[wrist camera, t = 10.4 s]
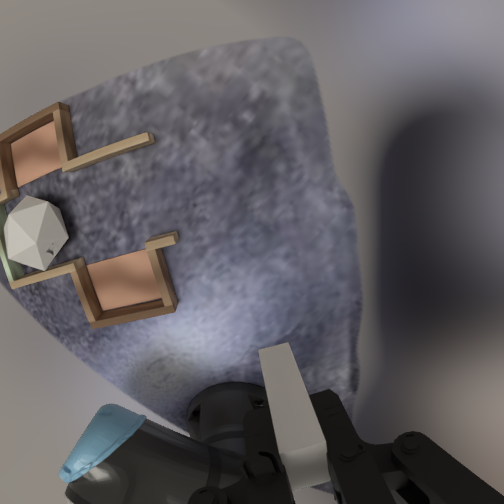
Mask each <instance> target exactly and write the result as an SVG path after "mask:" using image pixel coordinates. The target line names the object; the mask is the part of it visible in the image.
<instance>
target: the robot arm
mask: <svg viewBox="0 0 504 504" xmlns="http://www.w3.org/2000/svg"><path fill="white" fill-rule="evenodd" d="M258 352H259V357H260V362H261V367H262V372H263V377H264V382H265V387H266V389H264V388H262V387H259V386H256V385H253V384H248V383H239V382H232V383H223V384H218V385H215V386H212V387H209V388H207V389H205V390H203V391H202V392H200V393H199V394H198V395H197V396H196V397H195V398H194V399H193V400H192V401H191V403H190V405H189V408H188V413H187V428H188V432H189V434H190V437H191V438H190V437H187V436H185V435H182V434H180V433H178V432H175V431H173V430H171V429H168V428H166V427H164V426H161V425H159V424H157V423H155V422H153V421H151V420H149V419H146V416H145V415H139V414H136V413H134V412H132V411H130V410H128V409H125V408H123V407H121V406H119V405H116V404H107V405H104V406H102V407H101V408H100V409H99V410H98V412H97V413H96V414H95V416H94V418H93V419H92V420H91V422H90V424H89V425H88V427H87V428H86V430H85V431H84V433H83V434H82V436H81V437H80V439H79V441H78V442H77V444H76V445H75V447H74V448H73V450H72V451H71V453H70V455H69V456H68V458H67V460H66V461H65V463H64V464H63V466H62V467H61V469H60V471H59V473H58V474H59V477H60V478H62V480H63V481H64V482H66V483H69V484H68V486H67V489H66V492H65V494H64V497H65V499H66V501H67V503H68V504H295V501H294V498H293V493H292V491H295V490H299V489H303V488H307V487H311V486H314V485H318V484H322V483H325V482H328V481H332V484H333V489H334V498H335V500H337V503H338V504H396V502H395V500H394V498H393V496H392V494H393V495H394V496H395V497H396V498H397V499H398V501H399V502H400V503H401V504H504V496H503V495H502V494H500V493H499V492H498V491H496V490H495V489H494V488H492V487H491V486H489V485H488V484H487V483H486V482H484V481H483V480H481V479H480V478H479V477H478V476H477V475H475V474H474V473H472V472H471V471H470V470H469V469H468V468H466V467H465V466H463V465H462V464H461V463H460V462H459V461H457V460H456V459H455V458H453V457H452V456H451V455H450V454H448V453H447V452H446V451H445V450H443V449H442V448H441V447H440V446H438V445H437V444H436V443H434V442H433V441H432V440H431V439H430V438H428V437H427V436H426V435H424V434H422V433H420V432H415V431H411V432H406V433H404V434H402V435H399V436H398V437H397V439H395V440H394V443H388V444H379V445H374V444H369V443H366V442H364V441H363V440H361V439H360V438H359V436H358V435H357V433H356V431H355V428H354V426H353V424H352V422H351V420H350V418H349V416H348V414H347V412H346V411H345V408H344V406H343V405H342V402H341V400H340V398H339V396H338V395H337V394H336V393H334V392H333V391H331V390H330V389H328V390H325V391H322V392H318V393H315V394H311V395H308V393H307V390H306V388H305V385H304V382H303V380H302V377H301V374H300V372H299V369H298V366H297V364H296V361H295V359H294V356H293V353H292V351H291V348H290V345H289V343H288V342H287V343H283V344H280V345H276V346H272V347H268V348H264V349H259V350H258ZM330 478H331V479H330ZM391 493H392V494H391Z"/></svg>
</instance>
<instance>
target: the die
mask: <svg viewBox="0 0 504 504" xmlns="http://www.w3.org/2000/svg"><path fill="white" fill-rule="evenodd" d="M4 234H5V241H6V248H7V254H8V259H10V260H13V261H16V262H19V263H22V264H25V265H28V266H31V267H34V268H37V269H40V270H43V271H45V270H46V269H47V267H48V266H49V264H50V263H51V262H52V260H53V259H54V257H55V256H56V254H57V253H58V252H59V250H60V249H61V247H62V246H63V245H64V243H65V242H66V241H67V239H68V238H69V237H68V234H67V231H66V227H65V224H64V221H63V218H62V215H61V211H60V209H59V208H57V207H56V206H54V205H53V204H51V203H49V202H48V201H44V200H41V199H37V198H34V197H30V196H26V197H25V198H24V199H23V200H22V201H21V202H20V203H19V204H18V205H17V206H16V207H15V208H14V209H13V210H12V212H11V213H10V214H9V215H8V218H7V221H6V223H5V226H4Z"/></svg>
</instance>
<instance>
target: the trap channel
mask: <svg viewBox="0 0 504 504" xmlns="http://www.w3.org/2000/svg"><path fill="white" fill-rule="evenodd" d="M53 120H54V121H53ZM51 121H53V122H51ZM49 122H51V123H49ZM47 123H49V124H47ZM45 124H47V125H45ZM43 125H45V126H43ZM41 126H43V127H41ZM39 127H41V128H39ZM37 128H39V129H37ZM35 129H37V130H35ZM34 130H35V131H34ZM32 131H33V132H32ZM30 132H31V133H30ZM28 133H30V134H28ZM26 134H28V135H26ZM24 135H26V136H24ZM23 136H24V137H23ZM21 137H22V138H21ZM19 138H21V139H19ZM17 139H19V140H17ZM16 140H17V141H16ZM14 141H15V142H14ZM12 142H14V143H12ZM10 143H12V144H10ZM154 143H155V141H154V136H153V135H152V134H150V133H148V132H146V133H143V134H140V135H137V136H134V137H131V138H128V139H125V140H122V141H119V142H116V143H114V144H111V145H108V146H105V147H103V148H100V149H97V150H95V151H92V152H90V153H87V154H85V155H82V156H80V157H77V152H76V147H75V142H74V136H73V130H72V124H71V118H70V111H69V106H68V105H65V104H63V103H60V102H57V103H55V104H53V105H51V106H49V107H47V108H45V109H43V110H41V111H39V112H37V113H36V114H34V115H32V116H30V117H28V118H27V119H25V120H23V121H21V122H20V123H18V124H16V125H15V126H13V127H11V128H10V129H8V130H6V131H5V132H3V133H2V134H0V188H1V194H0V256H1V259H2V262H3V265H4V268H5V271H6V274H7V277H8V280H9V283H10V286H11V288H12V289H15V288H18V287H21V286H25V285H28V284H32V283H35V282H38V281H42V280H45V279H49V278H52V277H56V276H59V275H62V274H66V273H70V274H71V277H72V279H73V282H74V285H75V288H76V290H77V293H78V296H79V298H80V301H81V303H82V306H83V308H84V311H85V313H86V316H87V318H88V320H89V323H90V325H91V327H92V329H95V328H101V327H106V326H111V325H116V324H121V323H126V322H131V321H136V320H141V319H146V318H151V317H155V316H160V315H165V314H169V313H174V312H175V311H176V308H177V305H178V300H177V297H176V294H175V291H174V288H173V285H172V281H171V278H170V275H169V272H168V269H167V265H166V262H165V259H164V256H163V252H162V249H161V247H165V246H169V245H173V244H176V242H177V241H178V239H179V237H178V233H177V231H174V232H170V233H166V234H163V235H159V236H155V237H151V238H149V239H148V240H147V241H146V242H145V243H144V244H145V247H146V249H144V250H140V251H136V252H133V253H129V254H125V255H122V256H118V257H114V258H111V259H107V260H103V261H100V262H96V263H93V264H89V265H87V267H86V264H85V261H84V258H83V257H81V258H78V259H74V260H71V261H68V262H64V263H61V264H58V265H54V266H51V267H48V268H47V269H46V270H45V271H43V270H38V271H35V272H32V273H29V274H26V275H24V272H23V269H22V266H21V263H19V262H16V261H13V260H10V259H8V254H7V248H6V241H5V234H4V226H5V223H6V221H7V214H6V210H5V205H4V203H6V202H8V201H10V200H12V199H14V198H16V197H18V196H19V191H18V187H20V186H22V185H24V184H27V183H29V182H31V181H33V180H35V179H37V178H39V177H41V176H43V175H46V174H48V173H50V172H52V171H54V170H57V169H59V168H61V167H62V170H63V172H74V171H77V170H79V169H82V168H84V167H87V166H90V165H92V164H95V163H98V162H100V161H103V160H106V159H108V158H111V157H114V156H117V155H120V154H123V153H126V152H129V151H132V150H135V149H138V148H141V147H144V146H147V145H150V144H154ZM11 149H12V151H11ZM12 156H13V158H12ZM13 163H14V164H13ZM14 169H15V170H14ZM15 174H16V176H15ZM16 180H17V181H16ZM17 185H18V186H17ZM87 268H88V270H87ZM88 271H89V273H88ZM89 274H90V276H89ZM90 277H91V279H90ZM91 280H92V281H91ZM92 283H93V284H92ZM93 285H94V287H93ZM94 288H95V290H94ZM95 291H96V292H95ZM96 294H97V295H96ZM97 296H98V298H97ZM159 298H162V299H159ZM98 299H99V300H98ZM154 299H159V300H154ZM150 300H154V301H150ZM99 301H100V303H99ZM145 301H150V302H145ZM141 302H145V303H141ZM137 303H141V304H137ZM100 304H101V305H100ZM132 304H136V305H132ZM127 305H132V306H127ZM123 306H127V307H123ZM101 307H102V308H101ZM118 307H123V308H118ZM114 308H118V309H114ZM102 309H103V310H102ZM109 309H113V310H109ZM104 310H109V311H104ZM103 311H104V312H103Z"/></svg>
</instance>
